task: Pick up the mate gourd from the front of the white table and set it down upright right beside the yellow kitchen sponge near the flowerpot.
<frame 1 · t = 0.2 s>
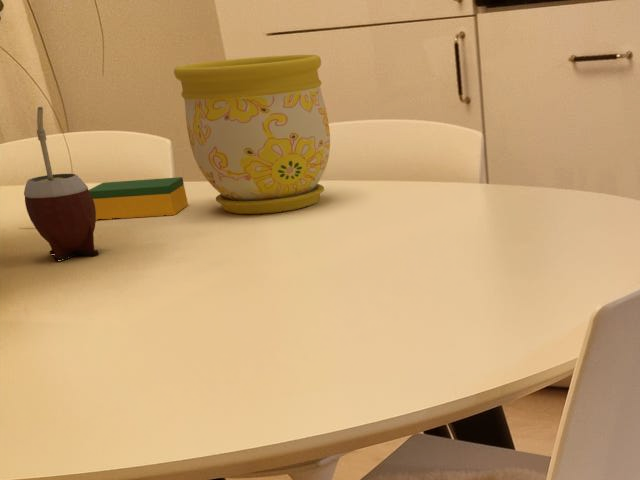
mate gourd: (77, 257, 107), on the table
flowerpot: (272, 206, 126), on the table
sponge: (141, 212, 127), on the table
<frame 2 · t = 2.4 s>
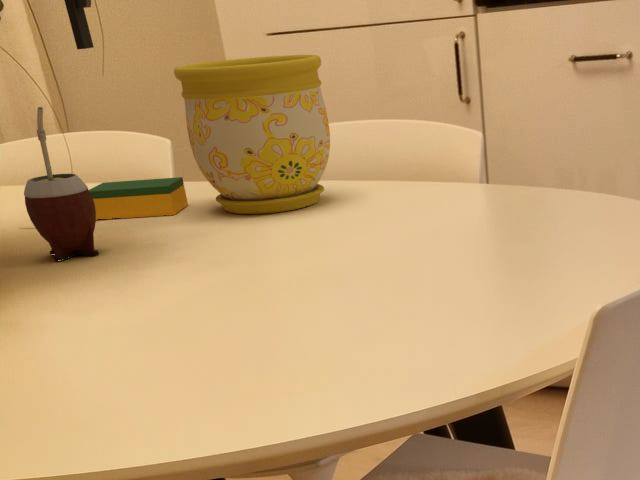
hand: (20, 54, 96), 19 cm above the table, tool pointing down, fingers open, 13 cm apart
nothing on the table moved.
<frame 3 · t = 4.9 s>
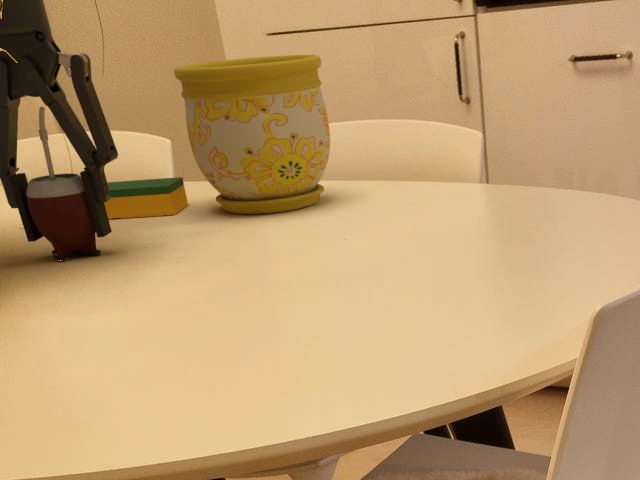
hand: (70, 236, 106), 2 cm above the table, tool pointing down, fingers closed on mate gourd, 7 cm apart
mate gourd: (79, 257, 107), on the table, touching gripper
everything else where it was.
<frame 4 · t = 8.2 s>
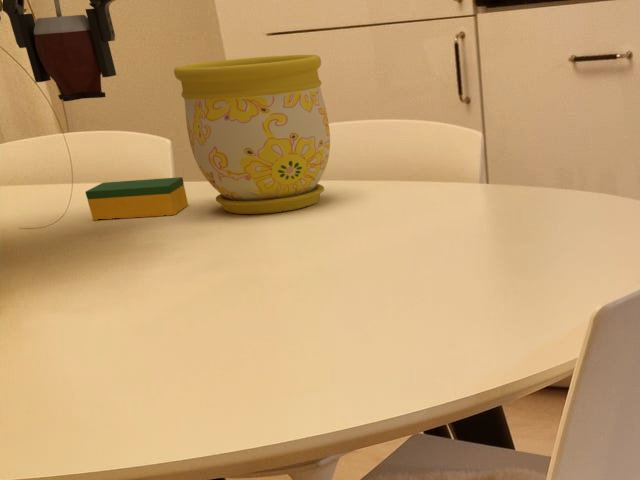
hand: (76, 78, 109), 16 cm above the table, tool pointing down, fingers closed on mate gourd, 7 cm apart
mate gourd: (84, 100, 110), point 14 cm above the table, touching gripper
everything else where it was.
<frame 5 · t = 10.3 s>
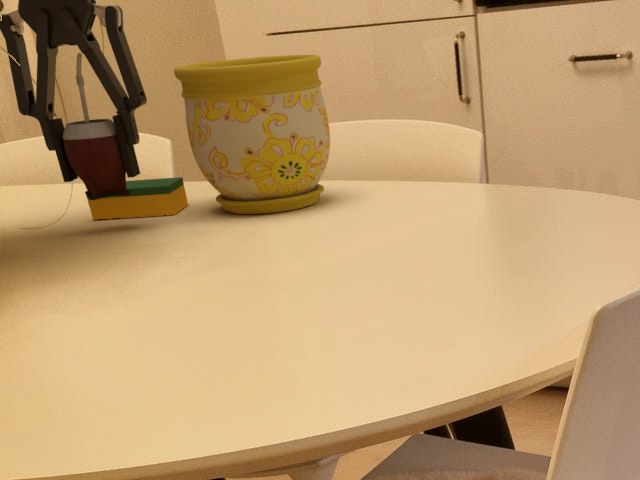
hand: (102, 177, 115), 6 cm above the table, tool pointing down, fingers closed on mate gourd, 7 cm apart
mate gourd: (110, 197, 116), point 4 cm above the table, touching gripper
everything else where it was.
when the fingers open (2 cm above the table, at t = 11.7 s): mate gourd stays where it is, on the table.
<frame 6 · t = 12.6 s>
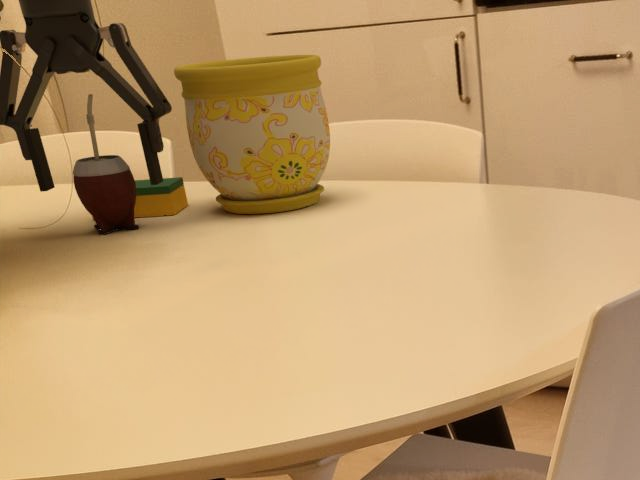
hand: (102, 186, 115), 5 cm above the table, tool pointing down, fingers open, 13 cm apart
mate gourd: (119, 231, 118), on the table
everything else where it was.
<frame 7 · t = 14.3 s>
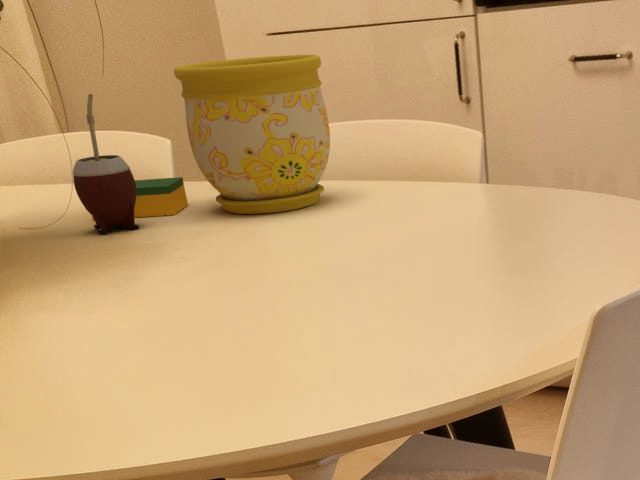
nothing on the table moved.
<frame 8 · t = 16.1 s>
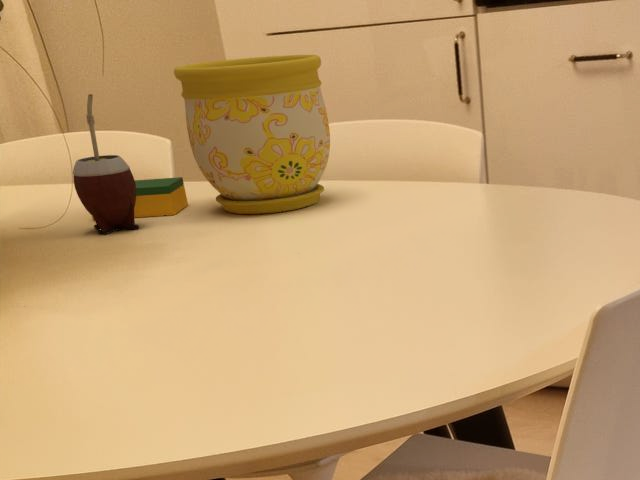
nothing on the table moved.
at the end: mate gourd 11.0 cm from the sponge (horizontally); mate gourd tilted 0°; mate gourd on the table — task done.
